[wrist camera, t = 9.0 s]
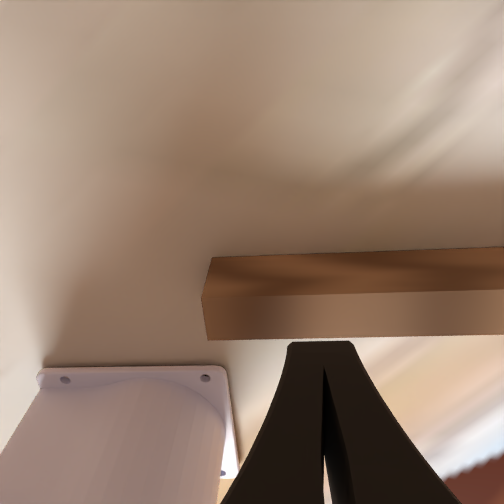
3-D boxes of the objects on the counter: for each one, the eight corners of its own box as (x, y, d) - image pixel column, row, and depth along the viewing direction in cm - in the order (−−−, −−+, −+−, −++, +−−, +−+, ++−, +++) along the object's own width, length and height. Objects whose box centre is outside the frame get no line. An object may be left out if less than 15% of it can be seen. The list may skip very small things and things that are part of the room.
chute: (217, 298, 21) (205, 352, 18) (150, -196, 13) (108, -253, 10) (627, 286, 20) (692, 344, 16) (834, -283, 12) (1037, -383, 8)
